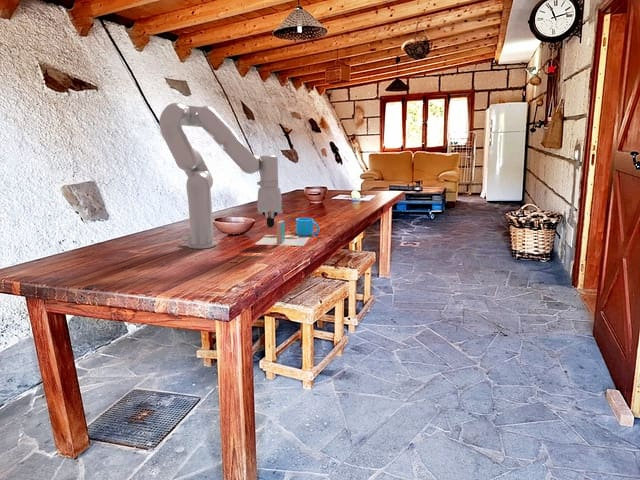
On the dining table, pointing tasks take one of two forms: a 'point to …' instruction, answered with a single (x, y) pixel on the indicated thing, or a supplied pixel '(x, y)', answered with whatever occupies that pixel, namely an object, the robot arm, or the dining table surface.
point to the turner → (285, 236)
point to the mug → (305, 226)
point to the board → (273, 241)
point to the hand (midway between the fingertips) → (270, 226)
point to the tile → (280, 231)
